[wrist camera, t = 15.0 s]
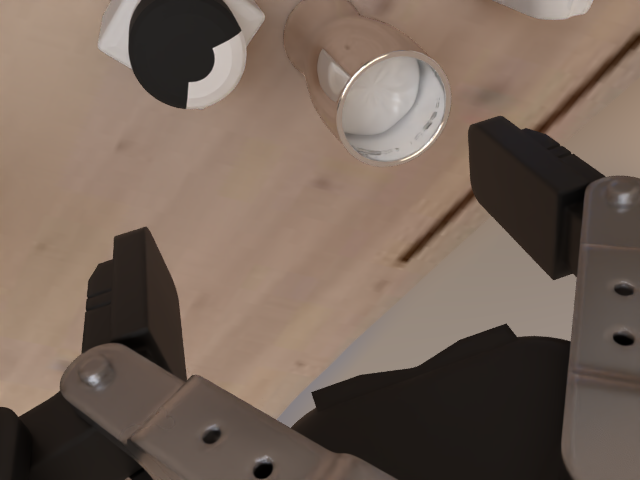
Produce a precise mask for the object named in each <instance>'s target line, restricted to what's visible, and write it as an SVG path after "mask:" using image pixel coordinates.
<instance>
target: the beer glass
mask: <svg viewBox="0 0 640 480" xmlns="http://www.w3.org/2000/svg"><path fill="white" fill-rule="evenodd" d="M283 42H284V48H285V52H286V55H287V57H288V59H289V61H290V62H291V64H292V65H293V66H294V67H295V68H296V69H297V70H298V71H299V72H301V73H302V74H304V75H305V79H306V84H307V89H308V92H309V95H310V98H311V101H312V103H313V106H314V108H315V109H316V111H317V113H318V115H319V116H320V118H321V120H322V121H323V123H324V124H325V125H326V126H327V128H328V129H329V130H330V132H331V133H332V134H333V135H334V136H335V137H336V138H337V139H338V141H339V142H340V143H341V144H342V145H343V146H344V147H345V149H346V150H347V151H348V152H349V153H350V154H351V155H352V156H353V157H354V158H356V159H357V160H359V161H361V162H363V163H365V164H368V165H372V166H377V167H390V166H396V165H400V164H403V163H406V162H408V161H411V160H413V159H414V158H416V157H418V156H419V155H421V154H422V153H423V152H425V151H426V150H427V149H428V148H429V147H430V146H431V145H432V144H433V143H434V142H435V141H436V140H437V138H438V137H439V135H440V134H441V132H442V131H443V129H444V127H445V125H446V122H447V120H448V117H449V113H450V109H451V88H450V84H449V81H448V78H447V76H446V74H445V72H444V71H443V69H442V68H441V67H440V65H439V64H438V63H437V62H436V61H434V60H433V59H432V58H431V57H430V56H429V55H428V54H427V53H426V52H425V51H424V50H423V49H422V48H421V47H420V46H419V45H418V44H417V43H416V42H415V41H414V40H412V39H411V38H410V37H409V36H408V35H406V34H405V33H403V32H402V31H400V30H398V29H397V28H395V27H394V26H392V25H390V24H387V23H385V22H382V21H379V20H376V19H373V18H368V17H363V16H360V14H359V13H358V11H357V10H356V8H355V7H354V6H353V5H352V4H351V3H350V2H349V1H348V0H303V1H301V2H300V3H299V4H298V5H297V6H296V7H295V8H294V9H293V10H292V12H291V13H290V15H289V17H288V19H287V21H286V24H285V28H284V34H283Z"/></svg>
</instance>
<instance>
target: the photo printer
mask: <svg viewBox="0 0 640 480" xmlns="http://www.w3.org/2000/svg"><path fill="white" fill-rule="evenodd" d="M493 1H495V2H497V3H500V4H502V5H504V6H507V7H509V8H512V9H514V10H516V11H519V12H521V13H523V14H526V15H528V16H531V17H533V18H538V19H545V20H562V19H568V18H570V17H572V16H576V15H584V14H585V13H586V12H587V11H588V10H589V9H590V6H591V4H592V2H593V0H493Z"/></svg>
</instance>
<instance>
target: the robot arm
mask: <svg viewBox="0 0 640 480" xmlns="http://www.w3.org/2000/svg"><path fill="white" fill-rule="evenodd" d="M468 143H469V163H470V181H471V186H472V190H473V192H474V195H475V197H476V199H477V200H478V202H479V203H480V204H481V205H482V206H483V207H484V208H485V209H486V211H487V212H488V213H489V214H490V215H491V216H492V217H494V219H495V220H496V221H497V222H498V223H499V224H500V225H501V226H502V227H503V228H504V229H505V230H506V231H507V232H508V233H509V235H510V236H512V237H513V239H514V240H515V241H516V242H517V243H518V244H519V245H520V246H521V247H522V248H523V249H524V250H525V251H526V252H527V253H528V254H529V255H530V256H531V257H532V258H533V260H534V261H535V262H536V263H537V264H538V265H539V266H540V267H541V268H542V269H543V270H544V271H545V272H546V273H547V274H548V275H549V276H550V277H551V278H552V279H553V280H556V279H558V278H561V277H564V276H567V275H570V274H574V275H575V276H576V277H577V281H576V292H575V302H574V314H573V325H572V334H571V341H567V340H563V339H558V338H551V337H541V336H540V337H539V336H527V337H526V336H525V337H516V335H515V334H514V333H513V331H512V330H511V329H510V328H509V326H508V325H507V324H504V325H501V326H498V327H495V328H492V329H489V330H487V331H484V332H481V333H478V334H475V335H473V336H470V337H467V338H464V339H461V340H459V341H457V342H456V343H454V344H453V345H451V346H449V347H448V348H447V349H445V350H443V351H442V352H440V353H438V354H437V355H435V356H434V357H432V358H431V359H429V360H427V361H426V362H424V363H423V364H421V365H419V366H417V367H414V368H410V369H402V370H394V371H387V372H379V373H372V374H365V375H359V376H356V377H354V378H351V379H348V380H345V381H342V382H339V383H336V384H334V385H331V386H328V387H325V388H322V389H320V390H317V391H314V392H311V393H312V396H313V399H314V402H315V405H316V408H315V409H313V410H312V411H310V412H309V413H307V414H306V415H305V416H303V417H302V418H301V419H300V420H298V421H297V422H296V423H295V424H294V425H293V426H292V427H291V428H289V427H288V426H286V425H284V424H282V423H281V422H279V421H277V420H276V419H274V418H272V417H270V416H269V415H267V414H265V413H264V412H262V411H260V410H258V409H257V408H255V407H253V406H252V405H250V404H248V403H246V402H245V401H243V400H241V399H239V398H238V397H236V396H234V395H233V394H231V393H229V392H227V391H226V390H224V389H222V388H220V387H219V386H217V385H215V384H214V383H212V382H210V381H208V380H207V379H205V378H203V377H201V376H198V375H192V376H191V377H190V378H189V379H188V380H187V377H186V367H185V357H184V348H183V338H182V328H181V318H180V309H179V300H178V295H177V291H176V288H175V285H174V282H173V279H172V277H171V275H170V273H169V270H168V268H167V266H166V264H165V262H164V260H163V258H162V256H161V253H160V251H159V249H158V247H157V245H156V243H155V241H154V238H153V236H152V234H151V232H150V231H149V229H148V228H147V227H143V228H140V229H137V230H133V231H130V232H127V233H124V234H121V235H118V236H115V237H114V250H113V259H112V260H109V261H106V262H103V263H100V264H98V266H97V268H96V269H95V271H94V272H93V274H92V276H91V277H90V279H89V281H88V291H87V297H88V299H87V301H86V311H87V312H85V322H84V332H83V342H82V353H81V355H80V356H78V357H77V358H76V359H75V360H74V361H73V362H72V363H71V364H70V365H69V366H68V367H67V369H66V370H65V372H64V374H63V376H62V378H61V381H60V391H59V392H58V393H57V394H55V395H54V396H53V397H51V398H50V399H48V400H47V401H45V402H43V403H42V404H40V405H38V406H36V407H35V408H33V409H31V410H30V411H28V412H26V413H25V414H23V415H21V416H20V417H18V416H17V415H16V414H15V412H13V411H12V410H11V409H9V408H5V407H0V480H640V179H639V178H635V177H630V176H609V177H605V176H604V175H603V174H601V173H600V172H598V171H597V170H596V169H594V168H593V167H591V166H590V165H589V164H587V163H586V162H584V161H583V160H581V159H580V158H579V157H577V156H576V155H574V154H571V152H570V151H569V150H567V149H566V148H565V147H563V146H561V147H560V144H559V143H558V142H556V141H555V140H553V139H552V138H550V137H549V136H548V135H546V134H543V133H540V132H537V131H534V130H530V129H527V128H525V129H522V130H521V129H519V128H518V127H517V126H515V125H514V124H513V123H511V122H510V121H509V120H507V119H506V118H504V117H503V116H497V117H494V118H491V119H488V120H485V121H481V122H478V123H475V124H472V125H471V126H470V127H469V130H468Z"/></svg>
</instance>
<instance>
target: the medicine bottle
mask: <svg viewBox="0 0 640 480" xmlns="http://www.w3.org/2000/svg"><path fill="white" fill-rule="evenodd" d="M264 19H265V14H264V13H263V12H262V10H261V9H260V8H259V6H258V5H257V4H256V2H255V1H254V0H111V2H110V3H109V5H108V7H107V9H106V10H105V12H104V14H103V17H102V23H101V29H100V34H99V40H98V48H99V49H100V50H101V51H102V52H103V53H105V54H107V55H108V56H110V57H112V58H113V59H115V60H117V61H118V62H120V63H122V64H124V65H125V66H127V67H129V68H130V69H132V70H133V72H134V74H135V76H136V78H137V80H138V81H139V83H140V84H141V85H142V86H143V88H144V89H145V90H146V91H147V92H148V93H149V94H151V95H152V96H153V97H154V98H156V99H157V100H159V101H161V102H163V103H165V104H167V105H170V106H173V107H177V108H182V109H199V110H203V109H205V108H206V107H208V106H210V105H213V104H215V103H217V102H219V101H221V100H222V99H224V98H225V97H226V96H228V95H229V94H230V93H231V92H232V91H233V90H234V88H235V87H236V86H237V84H238V83H239V81H240V79H241V77H242V74H243V72H244V69H245V64H246V55H247V53H246V47H247V45H248V44H249V43H250V41H251V40H252V38H253V37H254V35H255V34H256V32H257V31H258V29H259V28H260V26H261V25H262V23H263V22H264Z"/></svg>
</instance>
